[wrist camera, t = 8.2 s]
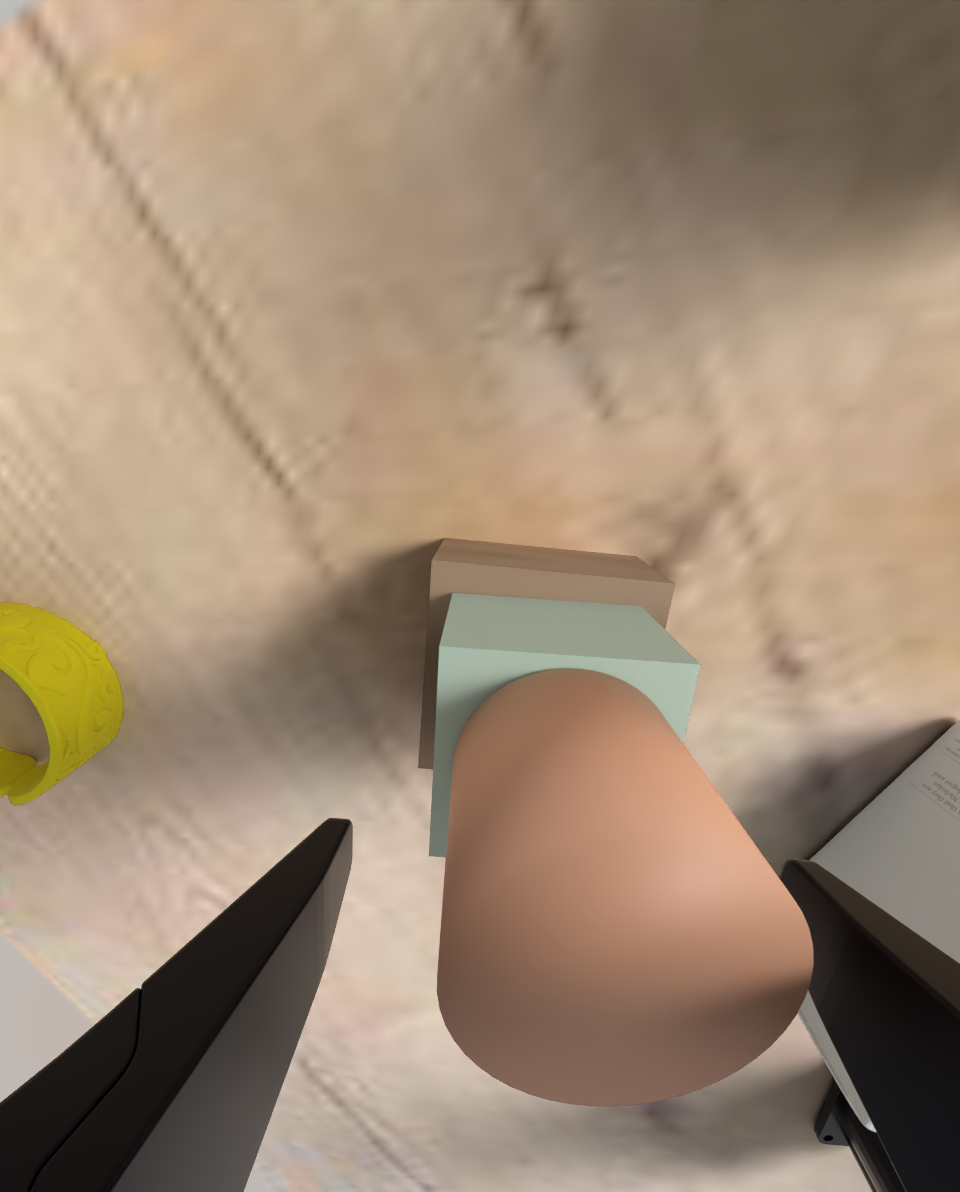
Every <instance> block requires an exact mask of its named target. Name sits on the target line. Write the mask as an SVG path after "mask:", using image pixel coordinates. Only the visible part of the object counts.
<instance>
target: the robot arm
mask: <svg viewBox="0 0 960 1192" xmlns="http://www.w3.org/2000/svg"><path fill="white" fill-rule="evenodd" d="M352 836H353V826H352V822H351V821H350V820H348V819H338V818H329V819H327V820H326V821H324V822H323V823H322V824H321V825H320V826H319V827H318V828H317V829H315V830H314V831H313V832H312V833H311V834H310V835H309V836H308V837H306V838H305V839H304V840H303V841H302V842H301V843H300V844H299V845H297V846H296V847H295V848H294V849H293V850H292V851H291V852H290V853H288V854H287V855H286V856H285V857H284V858H283V859H282V860H281V861H279V862H278V863H277V864H276V865H275V866H274V867H273V868H272V869H270V870H269V871H268V872H267V873H266V874H265V875H264V876H263V877H261V878H260V879H259V880H258V881H257V882H256V883H255V884H254V885H252V886H251V887H250V888H249V889H248V890H247V891H246V892H245V893H243V894H242V895H241V896H240V897H239V898H238V899H237V900H236V901H234V902H233V903H232V904H231V905H230V906H229V907H228V908H227V909H225V910H224V911H223V912H222V913H221V914H220V915H219V916H218V917H216V918H215V919H214V920H213V921H212V922H211V923H210V924H209V925H207V926H206V927H205V928H204V929H203V930H202V931H201V932H200V933H198V934H197V935H196V936H195V937H194V938H193V939H192V940H191V941H189V942H188V943H187V944H186V945H185V946H184V947H183V948H182V949H180V950H179V951H178V952H177V953H176V954H175V955H174V956H173V957H171V958H170V959H169V960H168V961H167V962H166V963H165V964H164V965H162V966H161V967H160V968H159V969H158V970H157V971H156V972H155V973H153V974H152V975H151V976H150V977H149V978H148V979H147V980H146V981H144V982H143V984H142V988H141V989H140V988H137V989H135V990H134V991H133V992H132V993H131V994H129V995H128V996H127V997H126V998H125V999H124V1000H123V1001H122V1002H120V1003H119V1004H118V1005H117V1006H116V1007H115V1008H114V1009H113V1010H111V1011H110V1012H109V1013H108V1014H107V1015H106V1016H105V1017H103V1018H102V1019H101V1020H100V1021H99V1022H98V1023H96V1024H95V1025H94V1026H93V1027H92V1028H91V1029H89V1030H88V1031H87V1032H86V1033H85V1034H84V1035H82V1036H81V1037H80V1038H79V1039H78V1040H77V1041H75V1042H74V1043H73V1044H72V1045H71V1046H70V1047H68V1049H66V1050H65V1051H64V1052H63V1053H61V1054H60V1055H59V1056H58V1057H57V1058H55V1059H54V1060H53V1061H52V1062H50V1063H49V1064H48V1065H47V1066H45V1067H44V1068H43V1069H42V1070H40V1071H39V1072H38V1073H37V1074H36V1075H34V1076H33V1077H32V1078H30V1079H29V1080H28V1081H27V1082H25V1083H24V1084H23V1085H22V1086H20V1087H19V1088H18V1089H17V1090H16V1091H14V1092H13V1093H12V1094H11V1095H9V1096H8V1097H7V1098H6V1099H4V1100H3V1101H2V1102H1V1103H0V1192H244V1189H245V1186H246V1183H247V1180H248V1178H249V1175H250V1173H251V1170H252V1167H253V1164H254V1162H255V1159H256V1156H257V1153H258V1151H259V1148H260V1145H261V1142H262V1140H263V1137H264V1134H265V1131H266V1129H267V1126H268V1123H269V1120H270V1118H271V1115H272V1112H273V1110H274V1107H275V1104H276V1101H277V1099H278V1096H279V1093H280V1090H281V1088H282V1085H283V1082H284V1079H285V1077H286V1074H287V1071H288V1068H289V1066H290V1063H291V1060H292V1057H293V1055H294V1052H295V1049H296V1047H297V1044H298V1041H299V1038H300V1036H301V1033H302V1030H303V1027H304V1025H305V1022H306V1019H307V1016H308V1014H309V1011H310V1008H311V1005H312V1003H313V1000H314V997H315V994H316V992H317V989H318V986H319V983H320V980H321V977H322V974H323V972H324V969H325V965H326V961H327V958H328V954H329V951H330V947H331V943H332V939H333V936H334V932H335V928H336V924H337V920H338V916H339V912H340V908H341V904H342V901H343V897H344V893H345V889H346V885H347V881H348V877H349V873H350V869H351V864H352ZM779 879H780V880H781V882H782V883H783V884H784V886H785V887H786V889H787V890H788V891H789V893H790V894H791V896H792V897H793V899H794V900H795V902H796V903H797V905H798V906H799V908H800V909H801V911H802V912H803V915H804V917H805V920H806V922H807V924H808V927H809V929H810V934H811V939H812V943H813V963H814V965H813V971H812V977H811V982H810V985H809V988H808V991H809V994H810V996H811V998H812V1001H813V1003H814V1005H815V1007H816V1010H817V1012H818V1014H819V1016H820V1018H821V1021H822V1023H823V1025H824V1027H825V1029H826V1031H827V1033H828V1035H829V1037H830V1039H831V1041H832V1043H833V1045H834V1047H835V1049H836V1051H837V1053H838V1055H839V1057H840V1059H841V1061H842V1063H843V1066H844V1068H845V1070H846V1072H847V1074H848V1076H849V1078H850V1080H851V1082H852V1084H853V1086H854V1088H855V1090H856V1092H857V1094H858V1096H859V1098H860V1100H861V1102H862V1104H863V1106H864V1108H865V1110H866V1112H867V1114H868V1116H869V1118H870V1120H871V1122H872V1124H873V1126H874V1128H875V1130H876V1132H874V1131H871V1130H869V1129H868V1128H866V1127H865V1126H864V1125H863V1124H862V1123H861V1121H860V1120H859V1118H858V1117H857V1115H856V1114H855V1112H854V1111H853V1109H852V1107H851V1106H850V1104H849V1102H848V1101H847V1099H846V1098H845V1096H844V1094H843V1093H842V1091H841V1089H840V1088H839V1086H838V1084H837V1082H836V1081H835V1083H834V1085H833V1087H832V1089H831V1092H830V1094H829V1096H828V1098H827V1100H826V1102H825V1105H824V1107H823V1109H822V1111H821V1113H820V1116H819V1118H818V1120H817V1122H816V1124H815V1126H814V1131H815V1133H816V1135H817V1137H818V1139H819V1141H820V1142H821V1143H823V1144H831V1145H843V1146H849V1147H850V1149H851V1151H852V1153H853V1155H854V1157H855V1158H856V1160H857V1162H858V1164H859V1166H860V1168H861V1170H862V1172H863V1174H864V1176H865V1178H866V1180H867V1182H868V1184H869V1186H870V1187H871V1189H872V1191H873V1192H960V963H958V962H957V961H955V960H954V959H953V958H951V957H950V956H948V955H947V954H946V953H944V952H943V951H941V950H940V949H938V948H937V947H936V946H934V945H933V944H931V943H930V942H928V941H927V940H926V939H924V938H923V937H921V936H920V935H918V934H917V933H916V932H914V931H913V930H911V929H910V928H908V927H907V926H906V925H904V924H903V923H901V922H900V921H898V920H897V919H896V918H894V917H893V916H891V915H890V914H889V913H887V912H886V911H884V910H883V909H881V908H880V907H879V906H877V905H876V904H874V903H873V902H871V901H870V900H869V899H867V898H866V897H864V896H863V895H861V894H860V893H859V892H857V891H856V890H854V889H853V888H851V887H850V886H849V885H847V884H846V883H844V882H843V881H841V880H840V879H839V878H837V877H836V876H834V875H833V874H832V873H830V872H829V871H827V870H826V869H824V868H823V867H822V866H820V865H819V864H817V863H816V862H813V861H810V860H802V859H788V860H787V861H786V862H785V863H784V865H783V868H782V871H781V874H780V877H779Z"/></svg>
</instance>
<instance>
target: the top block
mask: <svg viewBox="0 0 960 1192" xmlns="http://www.w3.org/2000/svg"><path fill="white" fill-rule="evenodd" d="M700 666H701V664H700V663H699V662H698V661H697V660H696V659H695V658H694V657H693V656H692V655H690V654H689V653H688V652H687V651H686V650H685V649H684V648H683V647H682V646H681V645H680V644H679V643H678V642H677V641H676V640H675V639H674V638H673V637H672V636H671V635H670V634H669V633H668V632H667V631H666V630H665V629H664V628H663V627H662V626H661V625H660V624H659V623H658V622H657V621H656V620H655V619H654V618H653V617H652V616H651V615H650V614H649V613H648V612H647V611H646V610H645V609H643V608H642V607H641V606H631V605H617V604H603V603H589V602H575V601H561V600H547V599H533V598H519V597H505V596H491V595H477V594H463V593H452V597H451V601H450V605H449V609H448V613H447V617H446V621H445V625H444V629H443V633H442V637H441V641H440V645H439V663H438V683H437V703H436V724H435V744H434V765H433V785H432V805H431V826H430V846H429V856H436V857H446V849H447V835H448V821H449V807H450V793H451V779H452V765H453V757H454V751H455V747H456V744H457V741H458V738H459V735H460V733H461V731H462V729H463V728H464V726H465V724H466V722H467V721H468V719H469V718H470V717H471V715H472V714H473V712H474V711H475V710H476V709H477V708H478V707H479V706H480V705H481V704H482V703H483V702H484V701H485V700H486V699H487V698H489V697H490V696H491V695H492V694H494V693H495V692H496V691H498V690H499V689H501V688H503V687H504V686H506V685H507V684H510V683H512V682H514V681H516V680H518V679H520V678H523V677H526V676H529V675H532V674H535V673H539V672H543V671H548V670H556V669H585V670H592V671H598V672H601V673H605V674H608V675H612V676H614V677H617V678H619V679H621V680H623V681H626V682H627V683H629V684H631V685H632V686H634V687H636V688H637V689H639V690H640V691H641V692H642V693H644V694H645V695H646V696H647V697H648V698H649V699H650V700H651V701H652V702H653V703H654V704H655V705H656V706H657V707H658V709H659V710H660V712H661V713H662V714H663V716H664V717H665V719H666V720H667V721H668V723H669V724H670V726H671V727H672V728H673V730H674V731H675V733H676V734H677V735H678V737H679V738H680V740H681V741H682V742H684V738H685V733H686V729H687V724H688V720H689V715H690V711H691V706H692V702H693V697H694V693H695V689H696V684H697V680H698V675H699V671H700Z"/></svg>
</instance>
